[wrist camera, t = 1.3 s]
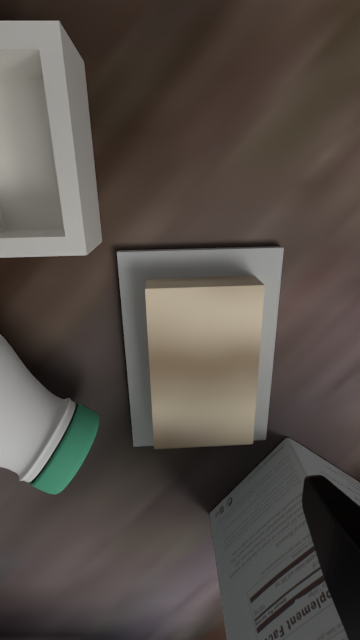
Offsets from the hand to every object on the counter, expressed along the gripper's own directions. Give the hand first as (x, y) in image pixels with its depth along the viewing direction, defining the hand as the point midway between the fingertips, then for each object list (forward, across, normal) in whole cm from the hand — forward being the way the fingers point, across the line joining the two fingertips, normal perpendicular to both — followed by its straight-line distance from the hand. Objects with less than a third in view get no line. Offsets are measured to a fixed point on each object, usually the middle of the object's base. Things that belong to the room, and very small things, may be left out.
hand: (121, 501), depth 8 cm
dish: (+13, +5, -8) cm, 16 cm away
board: (+12, -3, +3) cm, 13 cm away
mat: (+13, -3, +3) cm, 13 cm away
